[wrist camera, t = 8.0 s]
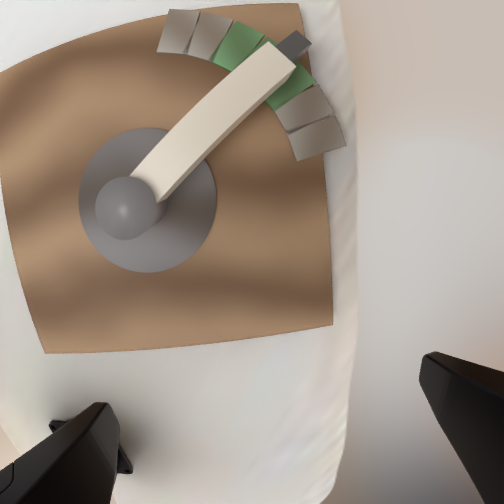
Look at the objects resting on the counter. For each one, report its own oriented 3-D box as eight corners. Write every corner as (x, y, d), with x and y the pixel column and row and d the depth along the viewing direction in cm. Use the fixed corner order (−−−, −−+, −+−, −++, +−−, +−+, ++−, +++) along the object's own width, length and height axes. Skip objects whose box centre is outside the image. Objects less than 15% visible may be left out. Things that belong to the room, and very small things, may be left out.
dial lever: (143, 238, 17) (126, 253, 14) (107, 204, 16) (84, 211, 13) (311, 71, 15) (329, 52, 12) (274, 37, 15) (284, 12, 12)
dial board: (347, 313, 21) (354, 322, 19) (51, 345, 20) (43, 354, 18) (314, 9, 16) (320, -1, 14) (7, 73, 15) (-3, 69, 13)
